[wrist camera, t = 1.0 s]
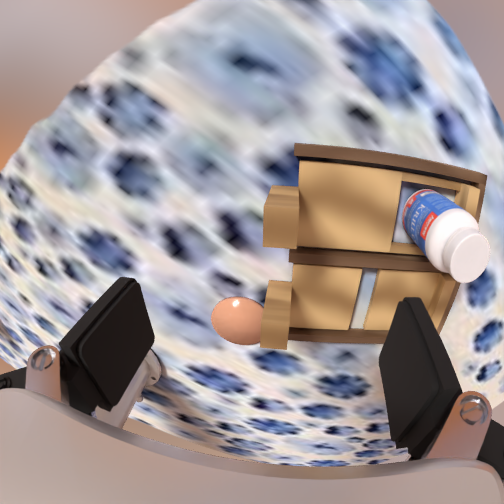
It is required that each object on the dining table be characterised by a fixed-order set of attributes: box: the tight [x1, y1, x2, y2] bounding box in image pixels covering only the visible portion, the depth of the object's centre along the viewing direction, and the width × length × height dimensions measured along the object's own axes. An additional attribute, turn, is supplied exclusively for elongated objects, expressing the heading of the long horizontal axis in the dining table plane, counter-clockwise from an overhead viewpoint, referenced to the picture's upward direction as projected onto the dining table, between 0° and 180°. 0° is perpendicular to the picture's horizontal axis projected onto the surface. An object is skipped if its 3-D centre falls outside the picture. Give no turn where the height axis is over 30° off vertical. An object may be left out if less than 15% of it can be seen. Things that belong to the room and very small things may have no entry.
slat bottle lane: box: [263, 160, 480, 255], centre depth 21 cm, size 8×20×7 cm, turn 89°
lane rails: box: [288, 143, 487, 343], centre depth 25 cm, size 21×20×2 cm
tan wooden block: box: [260, 263, 362, 350], centre depth 26 cm, size 8×9×7 cm
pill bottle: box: [402, 189, 490, 283], centre depth 20 cm, size 6×5×10 cm
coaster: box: [211, 297, 264, 345], centre depth 32 cm, size 7×7×1 cm
